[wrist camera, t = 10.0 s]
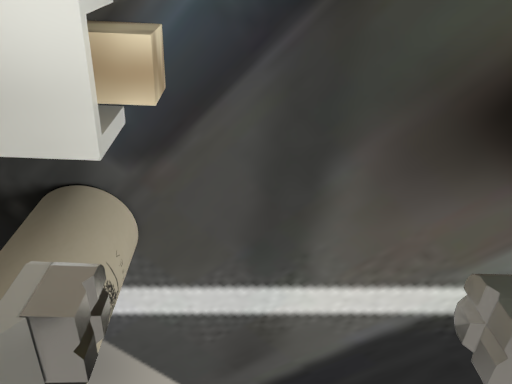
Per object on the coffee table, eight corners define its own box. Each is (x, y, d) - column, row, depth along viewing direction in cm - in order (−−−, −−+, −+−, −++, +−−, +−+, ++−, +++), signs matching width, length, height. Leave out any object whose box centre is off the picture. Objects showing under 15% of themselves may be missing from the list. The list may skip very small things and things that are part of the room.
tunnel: (-30, -29, 25) (-101, -22, 20) (110, -21, 25) (76, -11, 20) (6, 117, 29) (-45, 154, 24) (125, 122, 30) (100, 160, 25)
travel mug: (28, 249, 35) (-145, 495, 19) (44, 168, 31) (-153, 389, 16) (125, 277, 37) (38, 523, 21) (151, 202, 33) (68, 433, 17)
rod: (-137, 9, 26) (-195, 19, 23) (162, 23, 27) (150, 34, 23) (-112, 75, 28) (-162, 93, 25) (166, 86, 29) (155, 105, 25)
